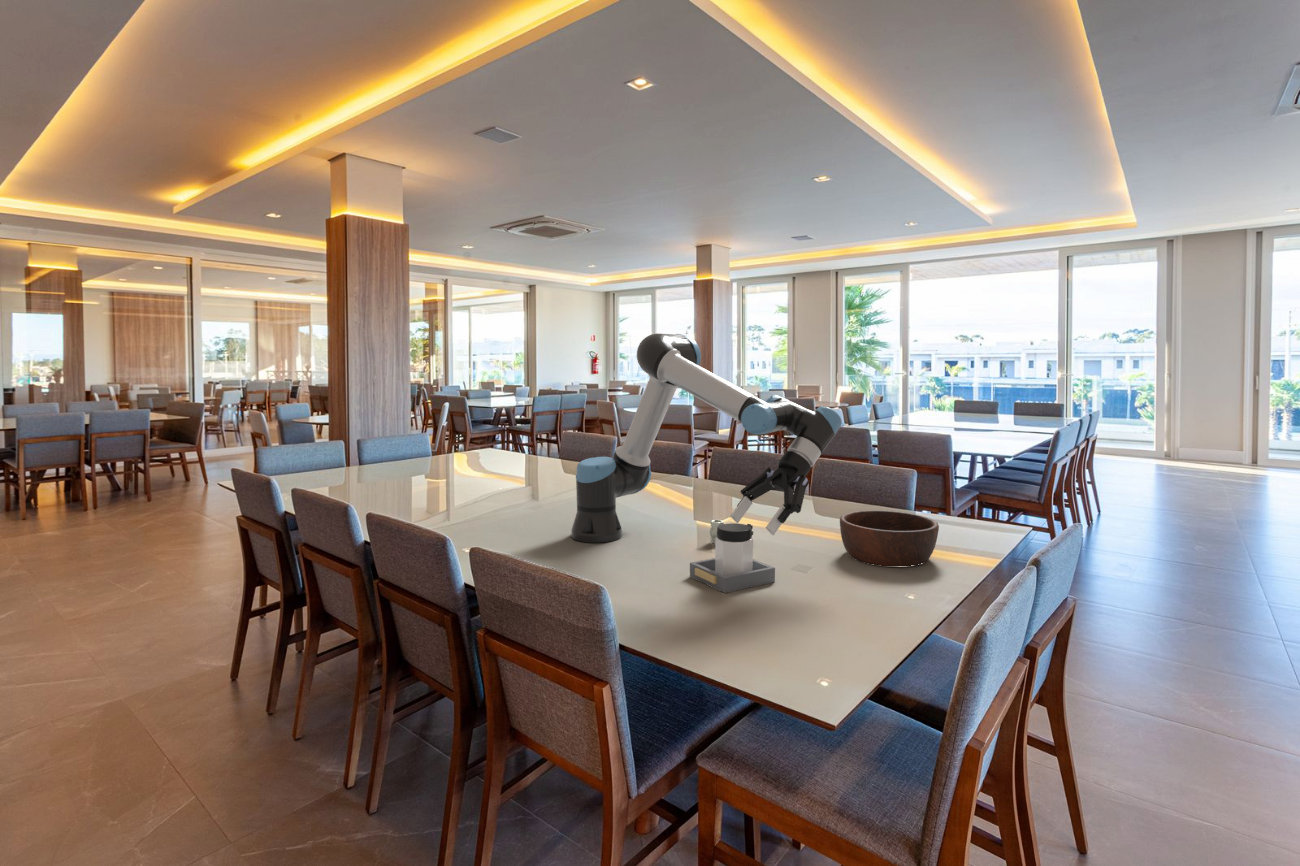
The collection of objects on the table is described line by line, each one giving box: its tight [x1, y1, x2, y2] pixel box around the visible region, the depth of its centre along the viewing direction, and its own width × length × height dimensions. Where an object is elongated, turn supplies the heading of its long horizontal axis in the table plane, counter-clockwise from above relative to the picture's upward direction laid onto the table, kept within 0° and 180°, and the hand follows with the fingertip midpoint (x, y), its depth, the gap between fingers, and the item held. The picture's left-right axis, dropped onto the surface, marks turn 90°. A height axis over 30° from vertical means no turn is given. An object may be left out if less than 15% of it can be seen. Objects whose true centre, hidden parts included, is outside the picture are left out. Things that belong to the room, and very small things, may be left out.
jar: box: [714, 522, 754, 576], centre depth 163 cm, size 9×8×12 cm
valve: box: [709, 519, 754, 545], centre depth 195 cm, size 7×7×12 cm
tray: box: [689, 557, 776, 594], centre depth 164 cm, size 14×16×4 cm
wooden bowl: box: [839, 509, 940, 567], centre depth 182 cm, size 25×25×10 cm
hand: (751, 525), depth 165 cm, fingers open, 13 cm apart
